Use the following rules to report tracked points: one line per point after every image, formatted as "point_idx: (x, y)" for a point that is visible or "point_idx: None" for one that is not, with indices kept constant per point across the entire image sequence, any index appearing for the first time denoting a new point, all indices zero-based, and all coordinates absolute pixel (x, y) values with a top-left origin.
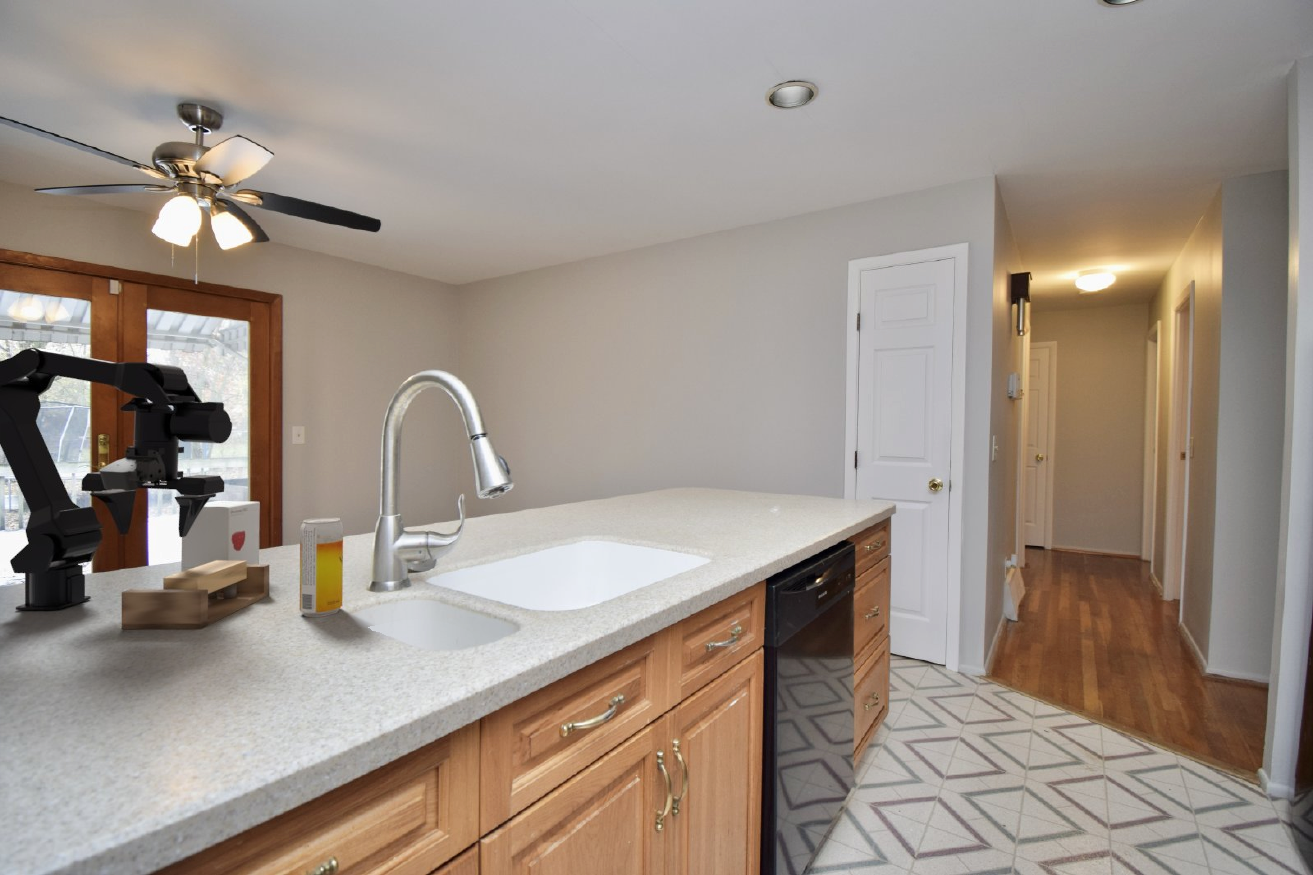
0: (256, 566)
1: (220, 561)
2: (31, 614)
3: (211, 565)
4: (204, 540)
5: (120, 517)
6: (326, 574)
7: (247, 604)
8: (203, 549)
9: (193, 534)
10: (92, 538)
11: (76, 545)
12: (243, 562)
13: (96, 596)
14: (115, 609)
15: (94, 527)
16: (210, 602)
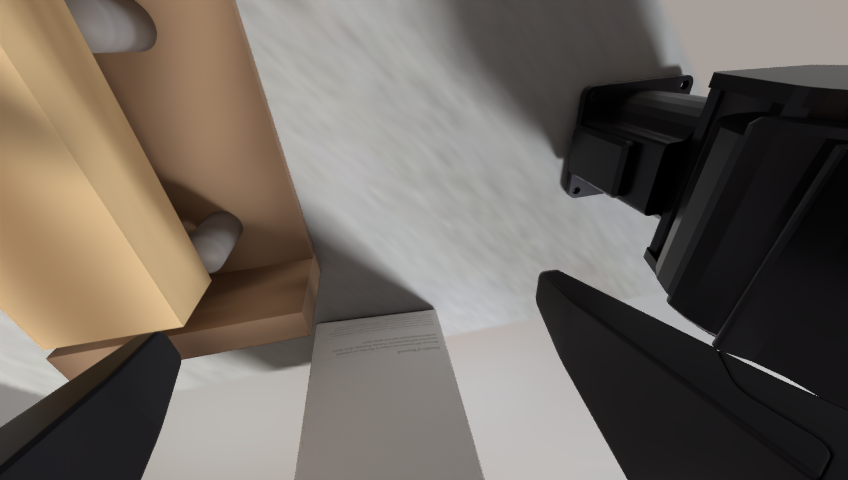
0: (80, 354)
1: (140, 318)
2: (628, 49)
3: (80, 257)
4: (385, 437)
5: (632, 357)
6: None
7: None
8: (385, 405)
9: (429, 451)
10: (700, 272)
11: (721, 185)
12: (28, 331)
13: (570, 219)
14: (439, 122)
15: (749, 318)
16: (161, 181)
